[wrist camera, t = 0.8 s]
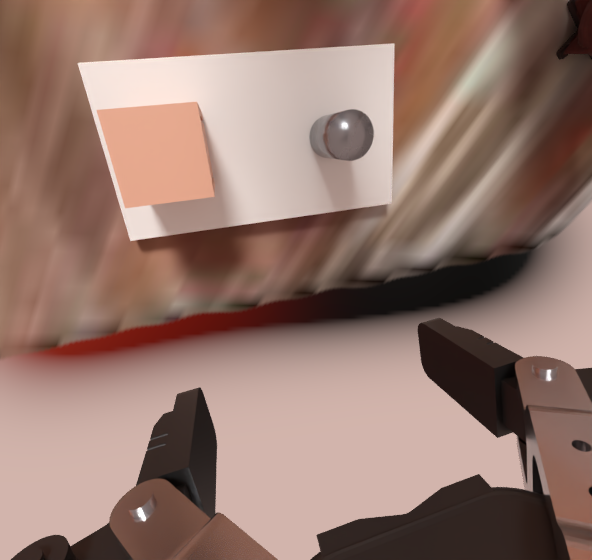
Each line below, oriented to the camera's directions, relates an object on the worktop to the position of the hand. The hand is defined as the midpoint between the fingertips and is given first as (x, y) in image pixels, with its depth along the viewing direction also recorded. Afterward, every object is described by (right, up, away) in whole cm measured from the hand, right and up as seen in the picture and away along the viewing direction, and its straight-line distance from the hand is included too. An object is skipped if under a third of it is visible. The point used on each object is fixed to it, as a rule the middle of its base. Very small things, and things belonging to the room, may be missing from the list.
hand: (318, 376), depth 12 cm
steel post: (+2, +16, +17) cm, 23 cm away
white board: (-4, +15, +18) cm, 24 cm away
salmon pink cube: (-11, +14, +15) cm, 23 cm away
